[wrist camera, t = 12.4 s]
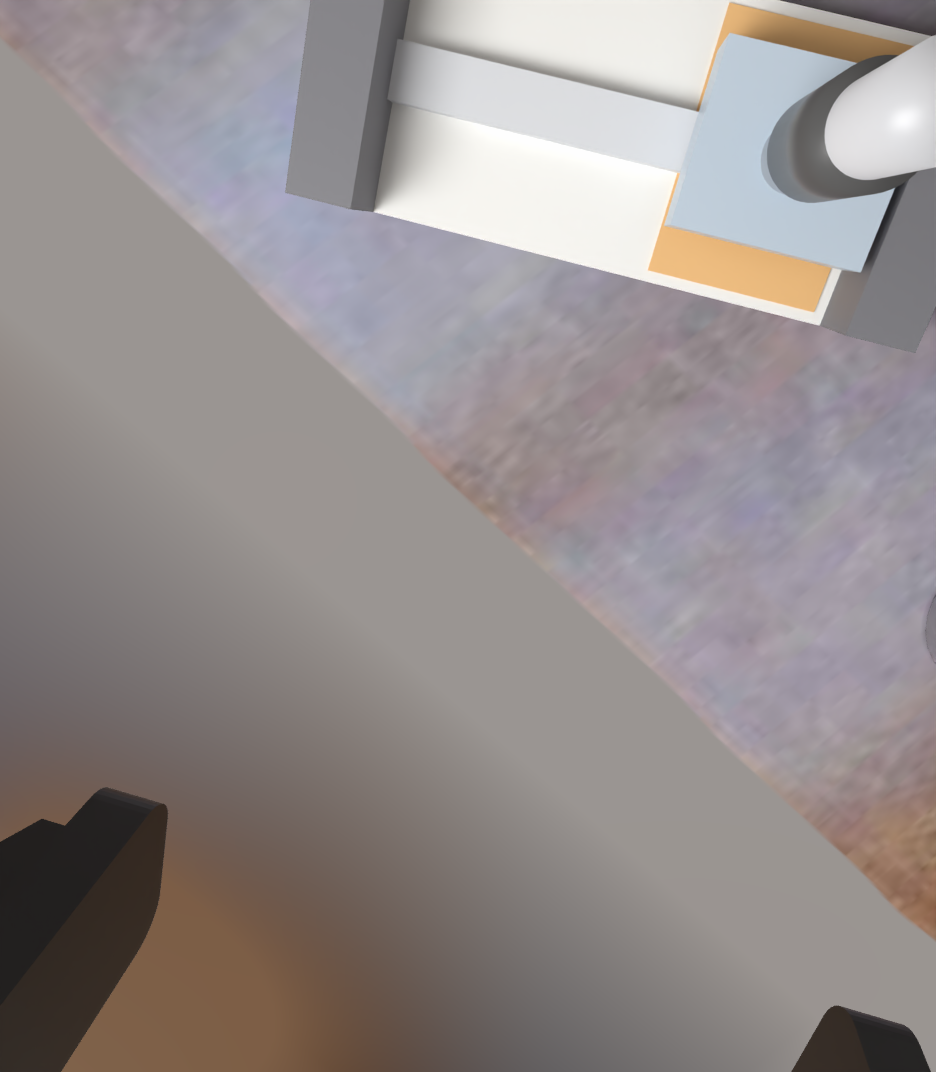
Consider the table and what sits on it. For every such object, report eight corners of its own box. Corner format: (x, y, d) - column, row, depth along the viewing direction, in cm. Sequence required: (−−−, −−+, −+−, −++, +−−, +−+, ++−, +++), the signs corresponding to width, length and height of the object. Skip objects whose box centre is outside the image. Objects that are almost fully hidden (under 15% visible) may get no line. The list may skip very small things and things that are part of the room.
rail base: (988, 61, 34) (1059, 30, 29) (871, 337, 38) (915, 353, 33) (366, -86, 35) (329, -141, 30) (324, 198, 40) (285, 192, 35)
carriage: (907, 95, 32) (1208, -38, 17) (839, 269, 35) (1043, 296, 19) (717, 50, 33) (836, -123, 17) (663, 225, 35) (724, 216, 20)
